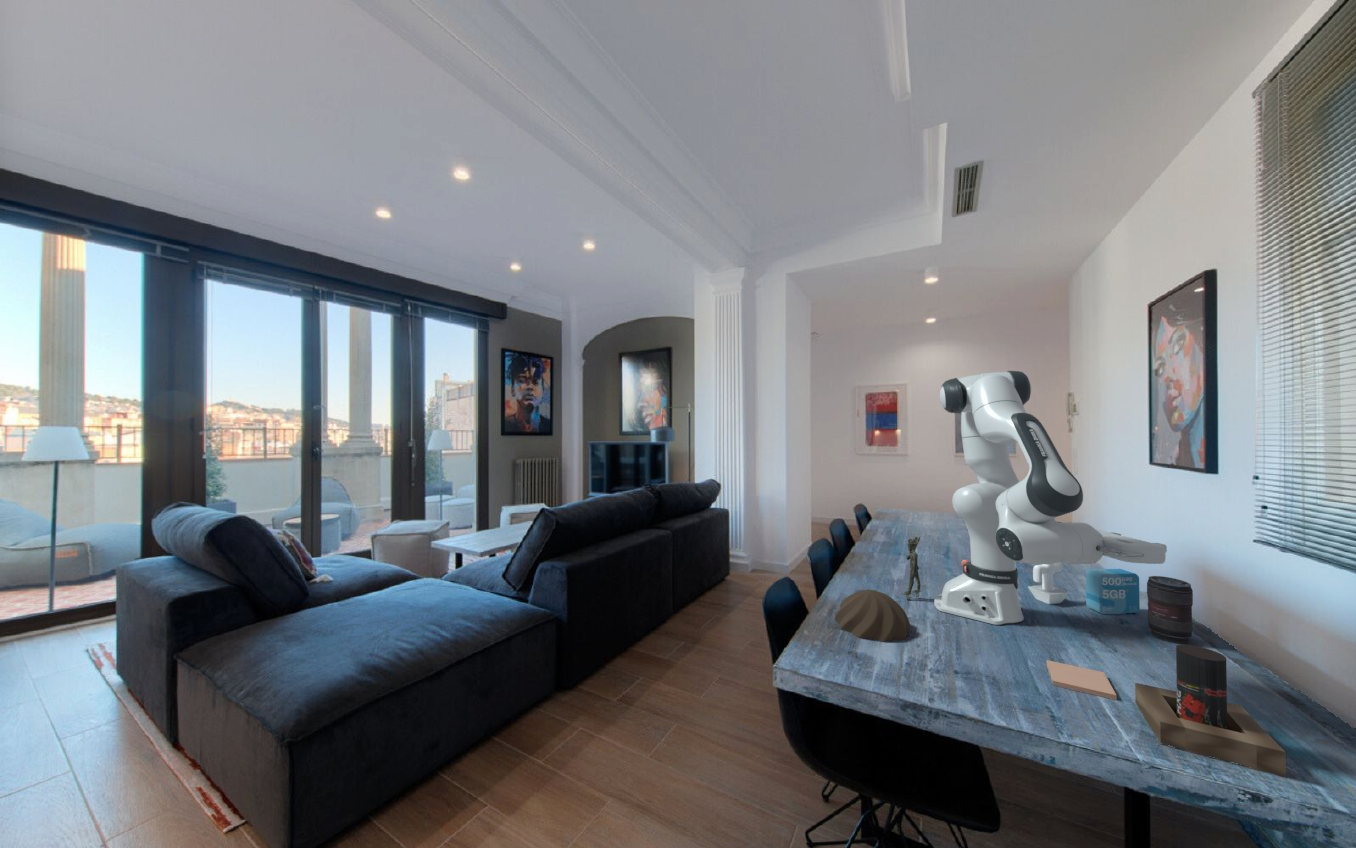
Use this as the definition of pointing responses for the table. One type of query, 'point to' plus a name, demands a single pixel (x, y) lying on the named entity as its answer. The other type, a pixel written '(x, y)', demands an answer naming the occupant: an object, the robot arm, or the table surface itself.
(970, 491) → the robot arm
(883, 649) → the table surface
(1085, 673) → the terracotta tile
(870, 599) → the decorative dome
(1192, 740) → the block
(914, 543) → the statue
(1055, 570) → the figurine
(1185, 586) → the camera lens
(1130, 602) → the data package
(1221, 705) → the deodorant
